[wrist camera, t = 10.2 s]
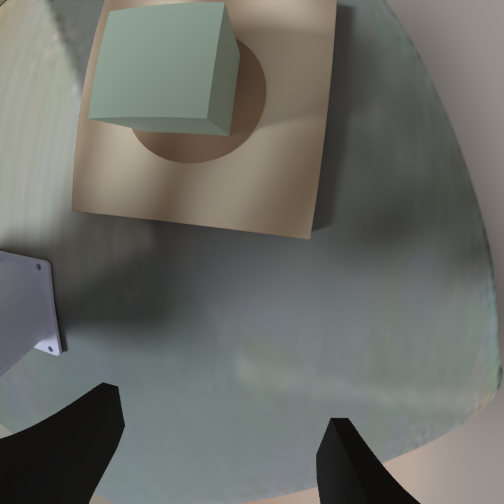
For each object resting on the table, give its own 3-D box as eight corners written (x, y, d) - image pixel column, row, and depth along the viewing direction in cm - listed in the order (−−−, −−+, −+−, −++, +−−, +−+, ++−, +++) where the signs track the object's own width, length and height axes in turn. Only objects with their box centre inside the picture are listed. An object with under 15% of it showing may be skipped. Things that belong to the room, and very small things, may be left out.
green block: (146, 131, 15) (88, 118, 10) (158, 54, 14) (109, 11, 8) (230, 136, 15) (207, 118, 10) (240, 55, 14) (224, 2, 8)
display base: (84, 207, 18) (70, 211, 17) (115, 6, 15) (104, -3, 13) (306, 234, 18) (310, 240, 16) (332, 10, 14) (337, -2, 13)
